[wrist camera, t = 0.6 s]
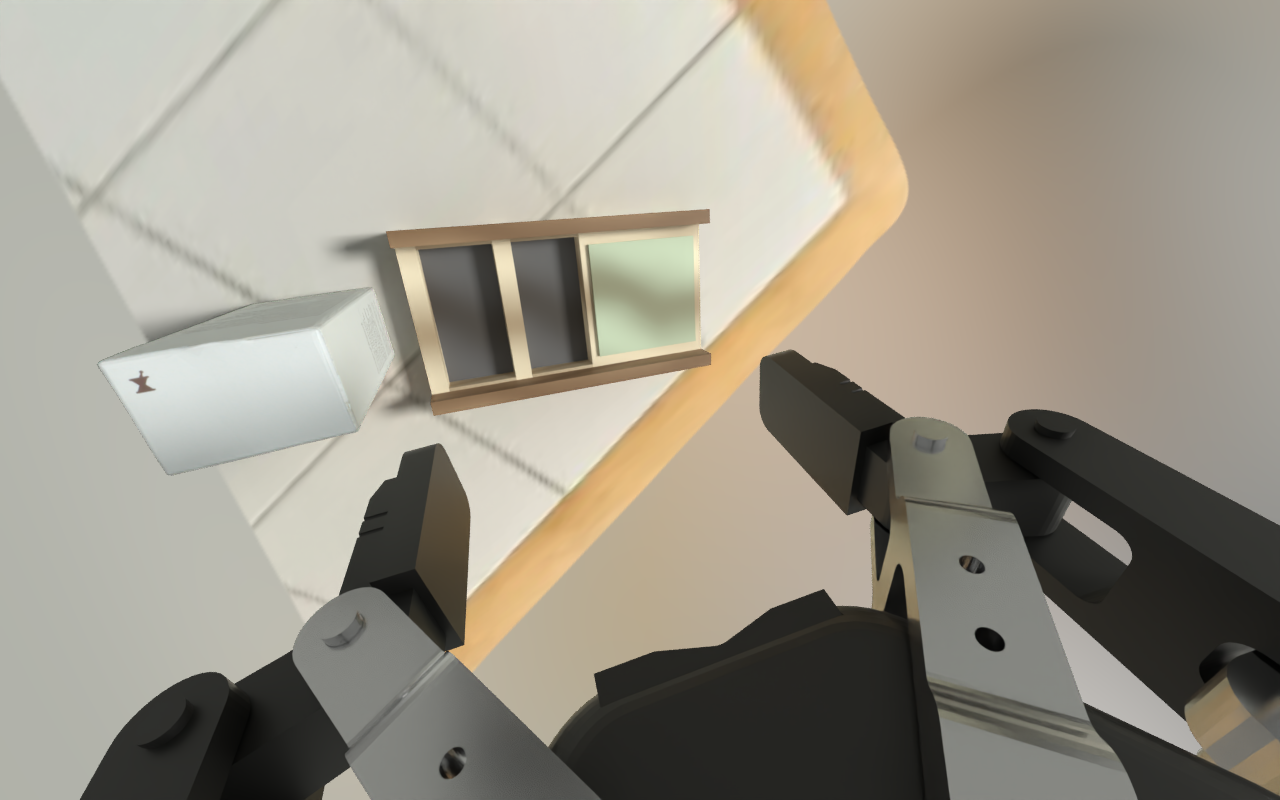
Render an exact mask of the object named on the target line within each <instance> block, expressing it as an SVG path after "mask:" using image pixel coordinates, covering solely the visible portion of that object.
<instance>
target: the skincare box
mask: <svg viewBox="0 0 1280 800" xmlns="http://www.w3.org/2000/svg"><path fill="white" fill-rule="evenodd" d="M394 356H395V353H394V349H393V347H392V344H391V341H390V338H389V335H388V331H387V328H386V325H385V322H384V319H383V316H382V313H381V310H380V306H379V303H378V300H377V297H376V294H375V291H374V289H373V288H371V287H368V288H361V289H354V290H347V291H340V292H333V293H326V294H320V295H313V296H306V297H299V298H292V299H286V300H279V301H272V302H265V303H258V304H252V305H249V306H247V307H244V308H241V309H238V310H235V311H232V312H230V313H227V314H224V315H222V316H219V317H216V318H214V319H211V320H208V321H206V322H203V323H200V324H198V325H195V326H192V327H189V328H187V329H184V330H181V331H178V332H176V333H173V334H170V335H167V336H165V337H162V338H159V339H157V340H154V341H151V342H148V343H145V344H142V345H139V346H136V347H133V348H131V349H128V350H126V351H123V352H121V353H118V354H116V355H113V356H111V357H108V358H106V359H103V360H101V361H100V362H98V364H97V365H98V367H99V369H100V370H101V371H102V373H103V374H104V376H105V378H106V379H107V381H108V382H109V384H110V385H111V386H112V388H113V390H114V391H115V393H116V394H117V396H118V397H119V399H120V401H121V402H122V404H123V405H124V407H125V408H126V410H127V412H128V413H129V415H130V417H131V418H132V420H133V422H134V423H135V425H136V427H137V428H138V430H139V431H140V433H141V434H142V436H143V438H144V439H145V441H146V443H147V445H148V446H149V448H150V450H151V451H152V453H153V454H154V456H155V457H156V459H157V460H158V462H159V463H160V465H161V466H162V468H163V469H164V471H165V472H166V473H167V475H176V474H180V473H185V472H189V471H193V470H198V469H202V468H207V467H211V466H215V465H219V464H224V463H228V462H232V461H237V460H241V459H245V458H250V457H254V456H258V455H262V454H266V453H270V452H274V451H278V450H282V449H286V448H290V447H294V446H298V445H302V444H306V443H311V442H315V441H320V440H324V439H328V438H332V437H336V436H340V435H345V434H350V433H355V432H357V431H358V430H359V428H360V426H361V424H362V422H363V420H364V418H365V416H366V413H367V411H368V409H369V407H370V405H371V403H372V401H373V399H374V397H375V395H376V393H377V391H378V389H379V387H380V385H381V383H382V381H383V379H384V377H385V375H386V373H387V370H388V368H389V367H390V364H391V362H392V360H393V358H394Z"/></svg>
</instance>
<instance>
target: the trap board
mask: <svg viewBox="0 0 1280 800" xmlns="http://www.w3.org/2000/svg"><path fill="white" fill-rule="evenodd" d="M705 223H710V209H705V210H690V211H676V212H661V213H647V214H632V215H618V216H603V217H589V218H574V219H560V220H545V221H531V222H516V223H502V224H487V225H473V226H458V227H444V228H429V229H415V230H400V231H386V233H387V237H388V241H389V245H390V248H395V252H396V256H397V260H398V264H399V267H400V271H401V275H402V279H403V283H404V287H405V291H406V295H407V299H408V303H409V307H410V310H411V314H412V318H413V322H414V326H415V330H416V334H417V338H418V342H419V346H420V350H421V353H422V357H423V361H424V365H425V369H426V373H427V377H428V381H429V385H430V389H431V393H432V398H431V407H432V411H433V415H434V416H435V415H441V414H446V413H452V412H457V411H463V410H468V409H473V408H479V407H484V406H490V405H495V404H501V403H506V402H511V401H517V400H522V399H528V398H533V397H539V396H544V395H550V394H555V393H560V392H566V391H571V390H577V389H582V388H588V387H593V386H598V385H604V384H609V383H615V382H620V381H626V380H631V379H636V378H642V377H647V376H653V375H658V374H664V373H669V372H674V371H680V370H685V369H691V368H696V367H702V366H707V365H711V353H709V352H706V351H704V350H702V349H701V329H700V274H699V224H705Z"/></svg>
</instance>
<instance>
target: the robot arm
mask: <svg viewBox="0 0 1280 800" xmlns="http://www.w3.org/2000/svg"><path fill="white" fill-rule="evenodd" d="M760 414H761V418H762V420H763V423H764V425H765V427H766V428H767V430H768V431H769V432H770V433H771V434H772V435H773V436H774V437H775V438H776V439H777V440H778V441H779V443H781V445H782V446H783V447H784V448H785V449H786V450H787V451H788V452H789V453H790V455H791V456H792V457H793V458H794V459H795V460H796V461H797V462H798V463H799V464H800V465H801V466H802V467H803V469H805V471H806V472H807V473H808V474H809V475H810V476H811V477H812V478H813V479H814V480H815V482H816V483H817V484H818V485H819V486H820V487H821V488H822V489H823V490H824V491H825V492H826V493H827V495H828V496H829V497H830V498H831V499H832V500H833V501H834V502H835V503H836V504H837V505H838V506H839V507H840V509H841V510H842V511H843V512H844V513H845V514H846V515H850V514H853V513H856V512H859V511H862V510H865V509H867V510H868V511H869V512H870V513H871V514H872V518H871V524H870V535H871V564H872V594H873V595H872V608H864V607H857V606H836V605H835V604H834V603H833V601H832V600H831V598H830V597H829V596H828V594H827V593H826V592H825V590H824V589H823V590H820V591H817V592H814V593H812V594H809V595H806V596H804V597H801V598H798V599H796V600H793V601H790V602H788V603H785V604H782V605H779V606H777V607H774V608H772V609H770V610H768V611H767V612H766V613H764V614H763V615H762V616H760V617H759V618H758V619H756V620H755V621H754V622H752V623H751V624H750V625H748V626H747V627H745V628H744V629H743V630H741V631H740V632H739V633H737V634H736V635H735V636H733V637H732V638H731V639H729V640H728V641H727V642H725V643H723V644H721V645H718V646H711V647H700V648H689V649H679V650H667V651H656V652H652V653H649V654H647V655H644V656H641V657H638V658H636V659H633V660H630V661H628V662H625V663H622V664H620V665H617V666H614V667H611V668H609V669H606V670H603V671H601V672H598V673H595V674H594V677H595V682H596V687H597V692H598V694H597V695H596V696H594V697H593V698H592V699H591V700H589V701H588V702H586V703H585V704H584V705H583V706H582V707H581V708H580V709H579V710H578V711H576V712H575V713H574V714H573V716H572V717H571V718H570V719H569V720H568V721H567V722H566V724H565V725H564V726H563V727H562V728H561V729H560V731H559V732H558V734H557V735H556V736H555V738H554V739H553V741H552V742H551V744H550V745H549V747H547V746H546V745H545V744H544V743H543V742H542V741H541V740H540V739H539V738H538V737H537V736H536V735H535V734H534V733H533V732H532V731H531V730H530V729H529V728H528V727H527V726H526V725H525V724H524V723H523V722H522V721H521V720H520V719H518V717H517V716H515V714H514V713H512V712H511V711H510V710H509V709H508V708H507V707H506V706H505V705H504V704H503V703H502V702H501V701H500V700H499V699H498V698H497V697H496V696H495V695H494V694H493V693H492V692H491V691H490V690H489V689H488V688H487V687H486V686H485V685H484V684H483V683H482V682H481V681H480V680H479V679H478V678H477V677H476V676H475V675H474V674H473V673H472V672H471V671H470V670H469V669H468V668H466V667H465V666H464V665H463V664H462V663H461V662H460V661H459V660H458V659H457V658H456V657H455V656H454V655H453V654H452V653H450V652H449V651H448V650H451V649H454V648H457V647H459V646H462V645H464V640H465V619H466V599H467V578H468V558H469V537H470V508H469V503H468V499H467V496H466V493H465V491H464V489H463V486H462V484H461V482H460V480H459V478H458V476H457V474H456V472H455V470H454V468H453V466H452V464H451V461H450V459H449V457H448V455H447V453H446V451H445V449H444V448H443V446H442V445H441V444H439V443H438V444H434V445H430V446H426V447H423V448H419V449H415V450H412V451H408V452H405V453H404V454H403V456H402V460H401V463H400V467H399V471H398V475H397V477H396V478H392V479H389V480H385V481H384V482H383V484H382V485H381V486H380V487H379V489H378V490H377V491H376V492H375V494H374V495H373V496H372V497H371V499H370V500H369V504H368V507H367V510H366V513H365V516H364V520H365V521H364V522H362V525H361V528H360V531H359V536H360V537H359V538H357V541H356V544H355V547H354V550H353V553H352V556H351V559H350V562H349V566H348V569H347V572H346V575H345V578H344V581H343V584H342V587H341V590H340V593H339V596H338V597H336V598H334V599H332V600H331V601H329V602H328V603H327V604H325V605H324V606H323V607H321V608H320V609H319V610H318V611H317V612H316V613H315V614H314V615H313V616H312V617H311V618H310V619H309V620H308V621H307V623H306V624H305V625H304V626H303V628H302V630H301V631H300V632H299V634H298V637H297V638H296V641H295V643H294V646H293V650H292V651H290V652H288V653H287V654H285V655H284V656H282V657H280V658H278V659H277V660H275V661H273V662H271V663H270V664H268V665H266V666H264V667H263V668H261V669H259V670H258V671H256V672H254V673H252V674H251V675H249V676H247V677H246V678H244V679H242V680H241V681H239V682H237V683H235V684H234V683H232V682H231V681H230V680H228V679H227V678H226V677H225V676H223V675H222V674H220V673H217V672H207V673H201V674H198V675H194V676H191V677H189V678H187V679H185V680H182V681H180V682H179V683H176V684H175V685H173V686H171V687H170V688H168V689H167V690H165V691H163V692H162V693H161V694H159V695H158V696H156V697H155V698H154V699H153V700H152V701H150V702H149V703H148V704H146V705H145V706H144V707H143V708H142V709H141V710H140V711H139V712H138V713H137V714H136V715H135V716H134V717H133V718H132V719H131V720H130V721H129V722H128V723H127V724H126V725H125V726H124V727H123V729H122V730H121V731H120V733H119V734H118V735H117V737H116V738H115V739H114V741H113V742H112V744H111V746H110V747H109V749H108V751H107V753H106V754H105V756H104V758H103V760H102V761H101V763H100V765H99V767H98V768H97V770H96V772H95V774H94V776H93V777H92V779H91V781H90V783H89V784H88V786H87V788H86V790H85V791H84V793H83V795H82V797H81V798H80V800H322V796H323V791H324V786H325V785H326V784H327V783H329V782H330V781H331V780H333V779H334V778H335V777H337V776H338V775H340V774H341V773H343V772H344V771H345V770H347V769H348V768H350V767H351V768H352V770H353V772H354V773H355V775H356V776H357V778H358V780H359V781H360V783H361V784H362V786H363V788H364V789H365V791H366V792H367V794H368V795H369V797H370V799H371V800H1280V525H1278V524H1276V523H1274V522H1272V521H1270V520H1268V519H1266V518H1264V517H1263V516H1260V515H1259V514H1257V513H1255V512H1253V511H1251V510H1249V509H1248V508H1246V507H1244V506H1242V505H1240V504H1238V503H1236V502H1234V501H1232V500H1231V499H1229V498H1227V497H1225V496H1223V495H1221V494H1219V493H1217V492H1216V491H1214V490H1212V489H1210V488H1208V487H1206V486H1204V485H1202V484H1201V483H1199V482H1197V481H1195V480H1193V479H1191V478H1189V477H1187V476H1185V475H1183V474H1182V473H1180V472H1178V471H1176V470H1174V469H1172V468H1170V467H1168V466H1167V465H1165V464H1163V463H1161V462H1159V461H1157V460H1155V459H1153V458H1152V457H1149V456H1147V455H1146V454H1144V453H1142V452H1140V451H1138V450H1136V449H1134V448H1133V447H1131V446H1129V445H1127V444H1125V443H1123V442H1121V441H1119V440H1118V439H1116V438H1114V437H1112V436H1110V435H1108V434H1106V433H1104V432H1103V431H1101V430H1099V429H1097V428H1095V427H1093V426H1091V425H1089V424H1088V423H1086V422H1084V421H1081V420H1079V419H1077V418H1074V417H1072V416H1069V415H1066V414H1063V413H1059V412H1054V411H1048V410H1038V409H1031V410H1023V411H1018V412H1016V413H1014V414H1012V415H1011V416H1010V417H1009V419H1008V421H1007V424H1006V426H1005V429H1004V432H1003V433H996V434H978V435H967V434H966V433H964V432H963V431H962V430H960V429H959V428H958V427H956V426H954V425H952V424H950V423H947V422H945V421H941V420H937V419H933V418H927V417H910V418H905V417H903V416H902V415H900V414H899V413H897V412H896V411H894V410H893V409H892V408H890V407H889V406H887V405H886V404H884V403H883V402H881V401H880V400H879V399H877V398H876V397H874V396H873V395H871V394H870V393H869V392H867V391H865V390H864V391H863V390H862V388H861V387H860V386H858V385H857V384H855V383H854V382H850V379H848V378H847V377H846V376H844V375H843V374H841V373H840V372H838V371H837V370H835V369H833V368H830V367H827V366H824V365H821V364H818V363H811V362H810V361H808V360H807V359H806V358H804V357H803V356H802V355H800V354H799V353H797V352H796V351H794V350H787V351H783V352H780V353H776V354H772V355H768V356H765V357H763V358H762V360H761V363H760ZM1071 501H1074V502H1075V503H1076V504H1078V505H1079V506H1081V507H1082V508H1084V509H1085V510H1087V511H1088V512H1090V513H1091V514H1093V515H1094V516H1095V517H1097V518H1098V519H1100V520H1101V521H1103V522H1104V523H1106V524H1107V525H1109V526H1110V527H1111V528H1113V529H1114V530H1116V531H1117V532H1118V533H1120V534H1121V535H1122V536H1123V537H1124V539H1125V540H1126V541H1127V543H1128V544H1129V546H1130V548H1131V551H1132V560H1131V562H1130V564H1129V565H1128V566H1127V565H1125V564H1124V563H1123V562H1121V561H1120V560H1119V559H1117V558H1116V557H1115V556H1113V555H1112V554H1111V553H1109V552H1108V551H1106V550H1105V549H1104V548H1102V547H1101V546H1100V545H1098V544H1097V543H1096V542H1094V541H1093V540H1091V539H1090V538H1089V537H1087V536H1086V535H1085V534H1083V533H1082V532H1081V531H1079V530H1078V529H1076V528H1075V527H1074V526H1072V525H1071V524H1069V523H1068V522H1067V521H1065V520H1064V519H1063V516H1064V514H1065V512H1066V510H1067V508H1068V507H1069V505H1070V503H1071ZM1043 593H1044V594H1045V595H1046V596H1047V597H1049V598H1050V599H1051V600H1052V601H1053V602H1054V603H1055V604H1057V606H1058V607H1060V608H1061V609H1062V610H1063V611H1064V612H1065V613H1066V614H1067V615H1068V616H1070V617H1071V618H1072V619H1073V620H1074V621H1075V622H1076V623H1077V624H1079V625H1080V626H1081V627H1082V628H1083V629H1084V630H1085V631H1086V632H1087V633H1088V634H1090V635H1091V636H1092V637H1093V638H1094V639H1095V640H1096V641H1097V642H1099V643H1100V644H1101V645H1102V646H1103V647H1104V648H1105V649H1106V650H1107V651H1109V652H1110V653H1111V654H1112V655H1113V656H1114V657H1115V658H1116V659H1117V660H1118V661H1120V662H1121V663H1122V664H1123V665H1124V666H1125V667H1126V668H1127V669H1128V670H1130V671H1131V672H1132V673H1133V674H1134V675H1135V676H1136V677H1137V678H1139V680H1141V681H1142V682H1143V683H1144V684H1145V685H1146V686H1147V687H1148V688H1150V689H1151V690H1152V691H1153V692H1154V693H1155V694H1156V695H1157V696H1158V697H1159V698H1161V699H1162V700H1163V701H1164V702H1165V703H1166V704H1167V705H1168V706H1169V707H1171V708H1172V709H1173V710H1174V711H1175V712H1176V713H1177V714H1178V715H1180V716H1181V717H1182V718H1183V719H1184V720H1185V721H1186V722H1187V724H1188V726H1189V728H1190V731H1191V732H1192V734H1193V736H1194V737H1195V739H1196V740H1197V742H1198V743H1199V744H1200V745H1201V747H1202V748H1201V749H1200V750H1199V751H1198V752H1197V756H1196V755H1194V754H1192V753H1190V752H1188V751H1185V750H1183V749H1181V748H1179V747H1177V746H1175V745H1173V744H1171V743H1169V742H1166V741H1164V740H1162V739H1160V738H1158V737H1156V736H1154V735H1151V734H1149V733H1147V732H1145V731H1143V730H1141V729H1139V728H1136V727H1135V726H1132V725H1130V724H1128V723H1126V722H1124V721H1122V720H1120V719H1117V718H1115V717H1113V716H1111V715H1109V714H1107V713H1105V712H1103V711H1101V710H1098V709H1096V708H1094V707H1092V706H1090V705H1088V704H1086V703H1084V702H1083V701H1082V699H1081V696H1080V693H1079V690H1078V688H1077V685H1076V682H1075V680H1074V676H1073V674H1072V671H1071V668H1070V666H1069V663H1068V660H1067V657H1066V654H1065V652H1064V649H1063V646H1062V643H1061V641H1060V638H1059V635H1058V632H1057V630H1056V627H1055V624H1054V621H1053V619H1052V616H1051V613H1050V610H1049V607H1048V605H1047V602H1046V599H1045V596H1044V594H1043ZM445 651H446V652H445Z"/></svg>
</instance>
